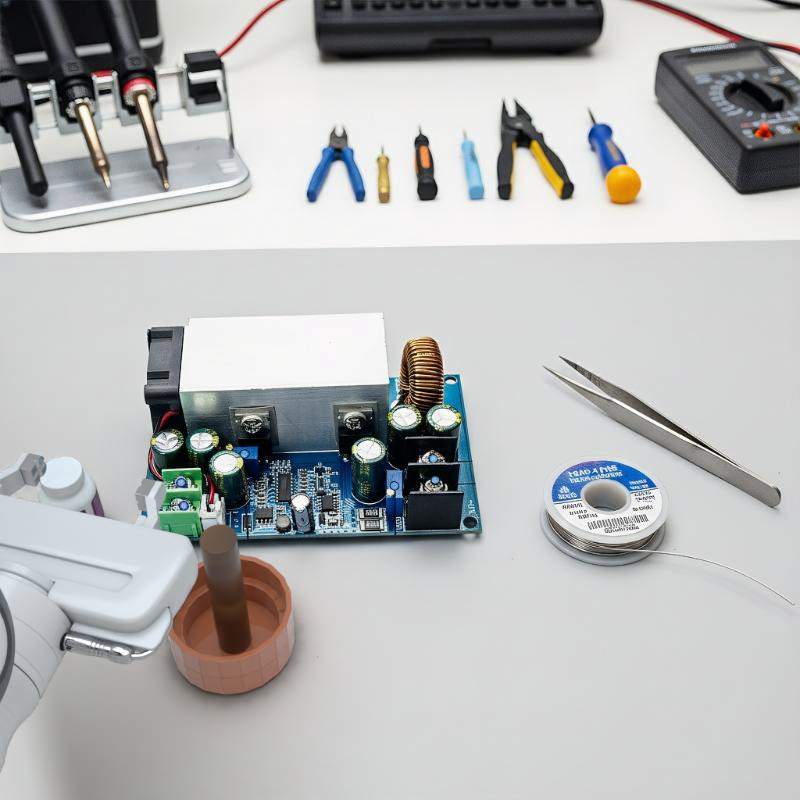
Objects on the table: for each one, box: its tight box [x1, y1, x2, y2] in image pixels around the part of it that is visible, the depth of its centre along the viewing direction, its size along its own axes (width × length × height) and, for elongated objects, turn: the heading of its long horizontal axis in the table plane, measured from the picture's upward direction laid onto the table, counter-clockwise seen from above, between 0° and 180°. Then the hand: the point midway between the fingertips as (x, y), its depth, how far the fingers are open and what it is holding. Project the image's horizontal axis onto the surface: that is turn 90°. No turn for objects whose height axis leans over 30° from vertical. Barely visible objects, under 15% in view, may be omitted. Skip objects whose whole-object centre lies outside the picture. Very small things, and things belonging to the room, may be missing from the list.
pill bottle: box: [37, 456, 107, 518], centre depth 96 cm, size 5×5×10 cm
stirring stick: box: [199, 523, 252, 654], centre depth 85 cm, size 3×3×15 cm
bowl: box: [167, 554, 296, 695], centre depth 89 cm, size 11×11×6 cm
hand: (95, 472), depth 72 cm, fingers open, 8 cm apart
